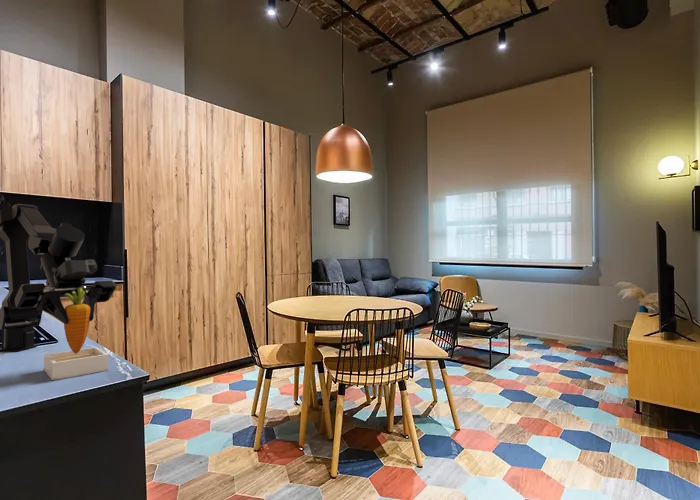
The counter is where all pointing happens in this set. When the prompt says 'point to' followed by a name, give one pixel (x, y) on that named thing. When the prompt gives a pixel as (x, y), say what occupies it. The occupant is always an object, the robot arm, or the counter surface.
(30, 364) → the counter surface
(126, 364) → the counter surface
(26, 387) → the counter surface
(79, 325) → the carrot
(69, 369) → the beige open box
